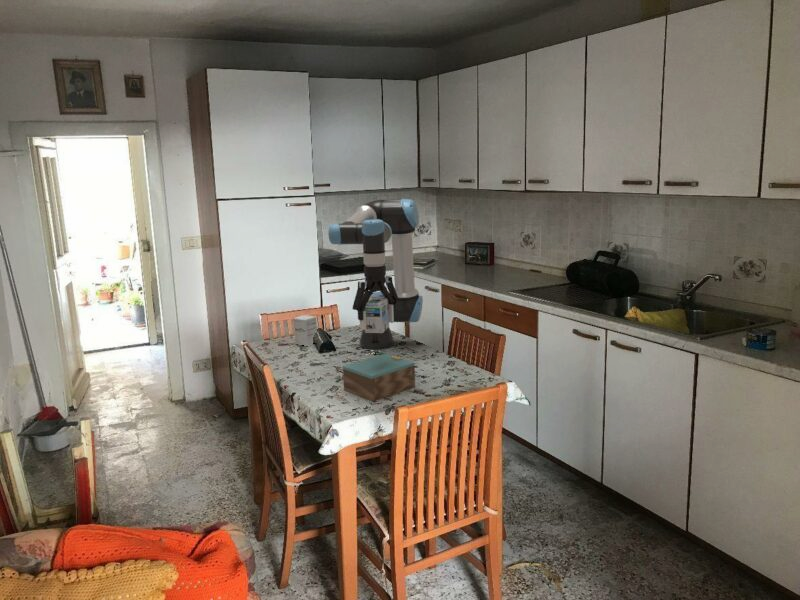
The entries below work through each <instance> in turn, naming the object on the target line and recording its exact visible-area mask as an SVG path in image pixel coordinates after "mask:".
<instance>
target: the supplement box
mask: <svg viewBox="0 0 800 600" xmlns="http://www.w3.org/2000/svg"><path fill="white" fill-rule="evenodd" d="M293 324H294V325H293V327H294V328H293V329H294V343H295V344H298V345H297V346H301V345H304V346H303V347H306V346H308V347H310V346H309V345H311V344H313V337H314V335H315V333H316V332H317V333H318V330H317V328H318V327H317V316H314V315H313V316H312V315H306V314H304V315H299V316H297V317H294V318H293ZM311 346H312V345H311Z"/></svg>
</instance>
